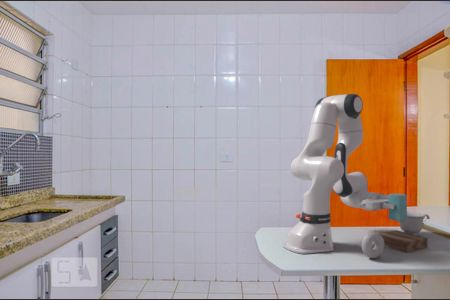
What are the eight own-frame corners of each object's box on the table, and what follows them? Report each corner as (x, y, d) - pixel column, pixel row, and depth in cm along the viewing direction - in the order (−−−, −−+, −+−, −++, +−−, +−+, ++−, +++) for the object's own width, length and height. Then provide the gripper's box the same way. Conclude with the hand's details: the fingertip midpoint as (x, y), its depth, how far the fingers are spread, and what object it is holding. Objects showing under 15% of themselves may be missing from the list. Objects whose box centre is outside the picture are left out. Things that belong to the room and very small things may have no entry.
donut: (379, 255, 116) (379, 229, 116) (386, 257, 113) (386, 231, 113) (359, 258, 113) (359, 232, 113) (366, 261, 110) (366, 234, 110)
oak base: (406, 252, 119) (406, 242, 119) (375, 243, 131) (375, 234, 131) (427, 247, 125) (427, 238, 125) (395, 238, 137) (395, 230, 137)
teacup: (437, 237, 138) (437, 216, 139) (405, 237, 139) (405, 216, 139) (421, 230, 151) (421, 211, 151) (391, 230, 151) (391, 211, 151)
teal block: (399, 221, 126) (399, 195, 126) (388, 219, 130) (388, 194, 130) (406, 220, 128) (406, 194, 128) (395, 217, 133) (395, 193, 133)
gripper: (356, 196, 136) (383, 200, 124) (385, 193, 145) (413, 197, 133) (356, 210, 136) (383, 215, 124) (385, 206, 145) (413, 211, 133)
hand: (399, 206), depth 128 cm, fingers closed on teal block, 5 cm apart
